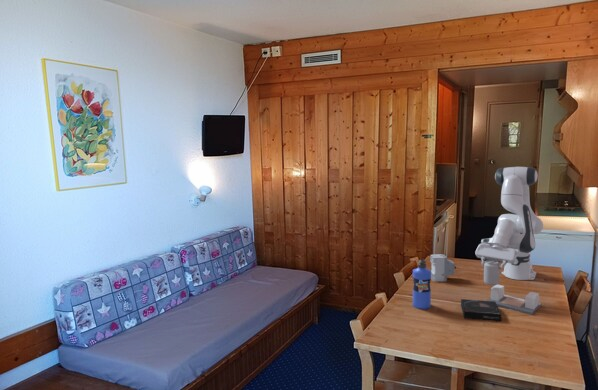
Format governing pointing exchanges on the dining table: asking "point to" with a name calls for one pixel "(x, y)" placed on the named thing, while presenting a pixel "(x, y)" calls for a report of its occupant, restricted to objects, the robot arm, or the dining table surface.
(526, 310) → the board
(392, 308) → the dining table surface
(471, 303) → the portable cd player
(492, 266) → the can
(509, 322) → the dining table surface
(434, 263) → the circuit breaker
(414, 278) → the water bottle
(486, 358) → the dining table surface
